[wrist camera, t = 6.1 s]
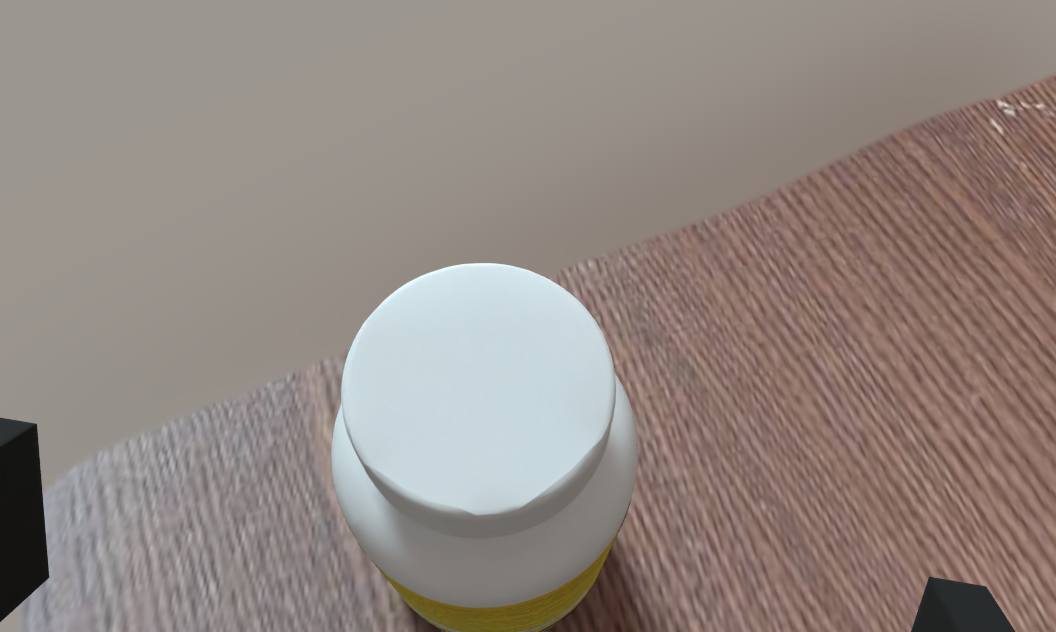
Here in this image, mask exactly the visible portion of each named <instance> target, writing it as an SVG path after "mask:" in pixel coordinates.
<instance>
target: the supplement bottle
mask: <svg viewBox="0 0 1056 632" xmlns="http://www.w3.org/2000/svg"><path fill="white" fill-rule="evenodd" d="M331 456H332V475H333V481H334V487H335V491H336V494H337V498H338V502H339V505H340V507H341V510H342V513H343V515H344V518H345V520H346V522H347V524H348V526H349V528H350V530H351V531H352V533H353V534H354V536H355V538H356V540H357V541H358V543H359V545H360V546H361V548H362V549H363V550H364V552H365V553H366V554H367V556H368V557H369V558H370V559H371V561H372V562H373V563H374V564H375V565H376V566H377V568H378V569H379V570H380V571H381V572H382V573H383V575H384V576H385V577H386V578H387V580H388V581H389V582H390V583H391V584H392V586H393V587H394V588H395V589H396V590H397V592H398V593H399V594H400V595H401V596H402V598H403V599H404V600H405V601H406V602H407V603H408V605H409V606H410V607H411V608H412V609H413V610H414V611H415V612H416V613H417V614H418V615H420V616H421V617H422V618H423V619H424V620H426V621H427V622H428V623H430V624H431V625H433V626H434V627H436V628H437V629H439V630H440V631H442V632H544V631H546V630H548V629H549V628H551V627H553V626H554V625H556V624H557V623H559V622H560V621H561V620H563V619H564V618H565V617H567V616H568V615H569V614H570V613H571V612H572V611H573V610H574V609H575V608H576V607H577V606H578V605H579V604H580V603H581V602H582V600H583V599H584V598H585V597H586V595H587V594H588V593H589V591H590V590H591V588H592V586H593V584H594V582H595V580H596V578H597V577H598V575H599V573H600V571H601V568H602V566H603V564H604V562H605V559H606V557H607V555H608V553H609V551H610V548H611V546H612V544H613V542H614V540H615V537H616V536H617V534H618V532H619V530H620V528H621V526H622V524H623V521H624V519H625V517H626V514H627V511H628V508H629V505H630V501H631V497H632V493H633V489H634V485H635V481H636V475H637V468H638V440H637V430H636V425H635V419H634V415H633V412H632V409H631V406H630V403H629V399H628V397H627V395H626V393H625V390H624V388H623V386H622V384H621V382H620V381H619V379H618V377H617V375H616V374H615V370H614V364H613V360H612V356H611V353H610V350H609V347H608V345H607V342H606V340H605V338H604V336H603V333H602V332H601V330H600V328H599V326H598V325H597V323H596V321H595V320H594V319H593V317H592V316H591V315H590V313H589V312H588V311H587V309H586V308H585V307H584V306H583V305H582V304H581V303H580V302H579V301H578V300H577V299H576V298H575V297H574V296H572V295H571V294H570V293H569V292H567V291H566V290H565V289H563V288H562V287H560V286H559V285H557V284H555V283H554V282H552V281H550V280H549V279H547V278H545V277H543V276H541V275H538V274H536V273H534V272H531V271H528V270H525V269H521V268H517V267H514V266H509V265H502V264H494V263H478V264H461V265H456V266H451V267H447V268H443V269H440V270H437V271H433V272H430V273H428V274H425V275H423V276H420V277H418V278H416V279H414V280H412V281H410V282H409V283H407V284H405V285H404V286H402V287H401V288H399V289H398V290H396V291H395V292H394V293H392V294H391V295H390V296H389V297H388V298H386V299H385V300H384V301H383V302H382V303H381V304H380V305H379V307H377V309H376V310H375V311H374V312H373V313H372V314H371V315H370V316H369V318H368V319H367V320H366V321H365V323H364V324H363V325H362V327H361V329H360V331H359V332H358V334H357V336H356V337H355V339H354V342H353V344H352V346H351V349H350V351H349V353H348V357H347V360H346V363H345V367H344V373H343V379H342V386H341V406H340V409H339V412H338V415H337V418H336V423H335V427H334V431H333V441H332V455H331Z"/></svg>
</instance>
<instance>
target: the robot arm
mask: <svg viewBox="0 0 1056 632" xmlns="http://www.w3.org/2000/svg"><path fill="white" fill-rule="evenodd" d="M48 578H49V569H48V557H47V545H46V532H45V520H44V507H43V495H42V483H41V470H40V458H39V446H38V433H37V424H34V423H28V422H22V421H16V420H11V419H5V418H0V622H1V621H2V620H3V619H4V618H5V617H6V616H7V615H9V614H10V613H11V612H12V611H13V610H14V609H15V608H16V607H17V606H18V605H20V604H21V603H22V602H23V601H24V600H25V599H26V598H27V597H28V596H29V595H30V594H32V593H33V592H34V591H35V590H36V589H37V588H38V587H39V586H40V585H41V584H43V583H44V582H45V581H46V580H47V579H48ZM911 632H1015V630H1014V629H1013V627H1012V626H1011V624H1010V623H1009V621H1008V620H1007V618H1006V616H1005V615H1004V613H1003V612H1002V610H1001V609H1000V607H999V606H998V604H997V603H996V601H995V599H994V598H993V596H992V595H991V593H990V592H989V590H988V589H987V587H986V586H980V585H974V584H968V583H962V582H956V581H951V580H945V579H939V578H933V577H929V579H928V582H927V585H926V588H925V591H924V594H923V597H922V600H921V603H920V606H919V609H918V612H917V616H916V619H915V622H914V625H913V628H912V631H911Z"/></svg>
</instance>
